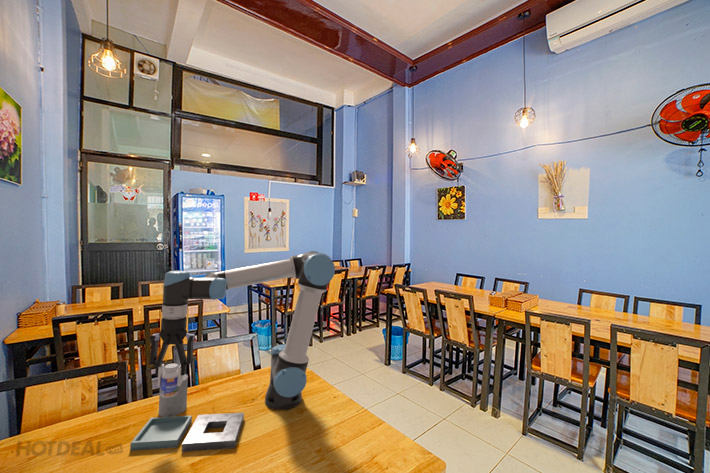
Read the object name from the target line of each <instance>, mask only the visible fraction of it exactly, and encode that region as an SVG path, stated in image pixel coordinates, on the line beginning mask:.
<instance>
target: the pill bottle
mask: <svg viewBox="0 0 710 473" xmlns="http://www.w3.org/2000/svg"><path fill="white" fill-rule="evenodd" d="M178 367H179V364H178V363H173V362H172V363H168V364H165V365H164V372H163V374H162V377H161V392H160V391H159V394H160V395H161V397H163V398H169V397H173V396H175V395H177V394H178V392H179V386H177V380H178Z"/></svg>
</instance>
